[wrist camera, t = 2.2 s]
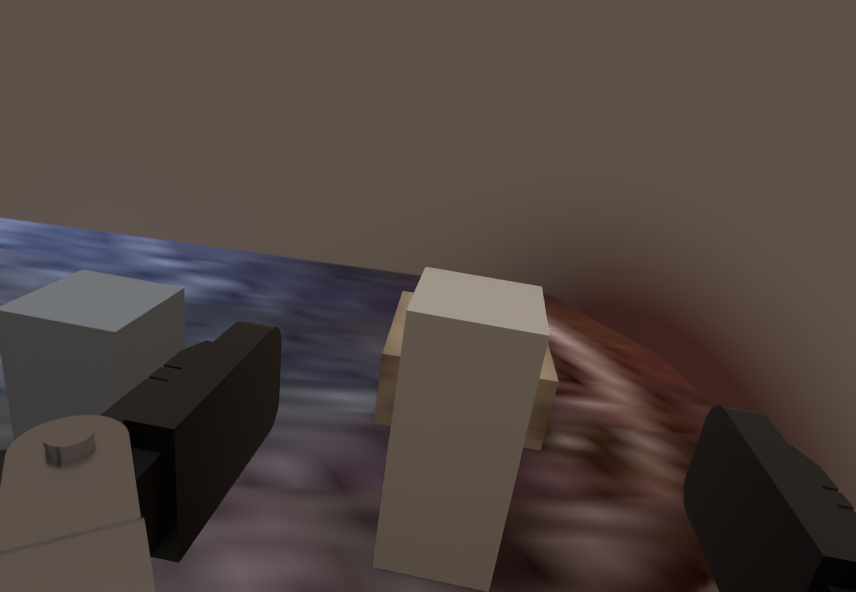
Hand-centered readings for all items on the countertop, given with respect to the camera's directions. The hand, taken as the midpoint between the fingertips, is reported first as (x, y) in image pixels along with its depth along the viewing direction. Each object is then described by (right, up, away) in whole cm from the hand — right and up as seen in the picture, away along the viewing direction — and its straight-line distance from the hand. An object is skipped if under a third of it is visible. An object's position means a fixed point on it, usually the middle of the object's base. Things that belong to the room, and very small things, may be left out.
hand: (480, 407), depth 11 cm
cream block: (-1, -9, +16) cm, 18 cm away
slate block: (-16, -6, +17) cm, 24 cm away
